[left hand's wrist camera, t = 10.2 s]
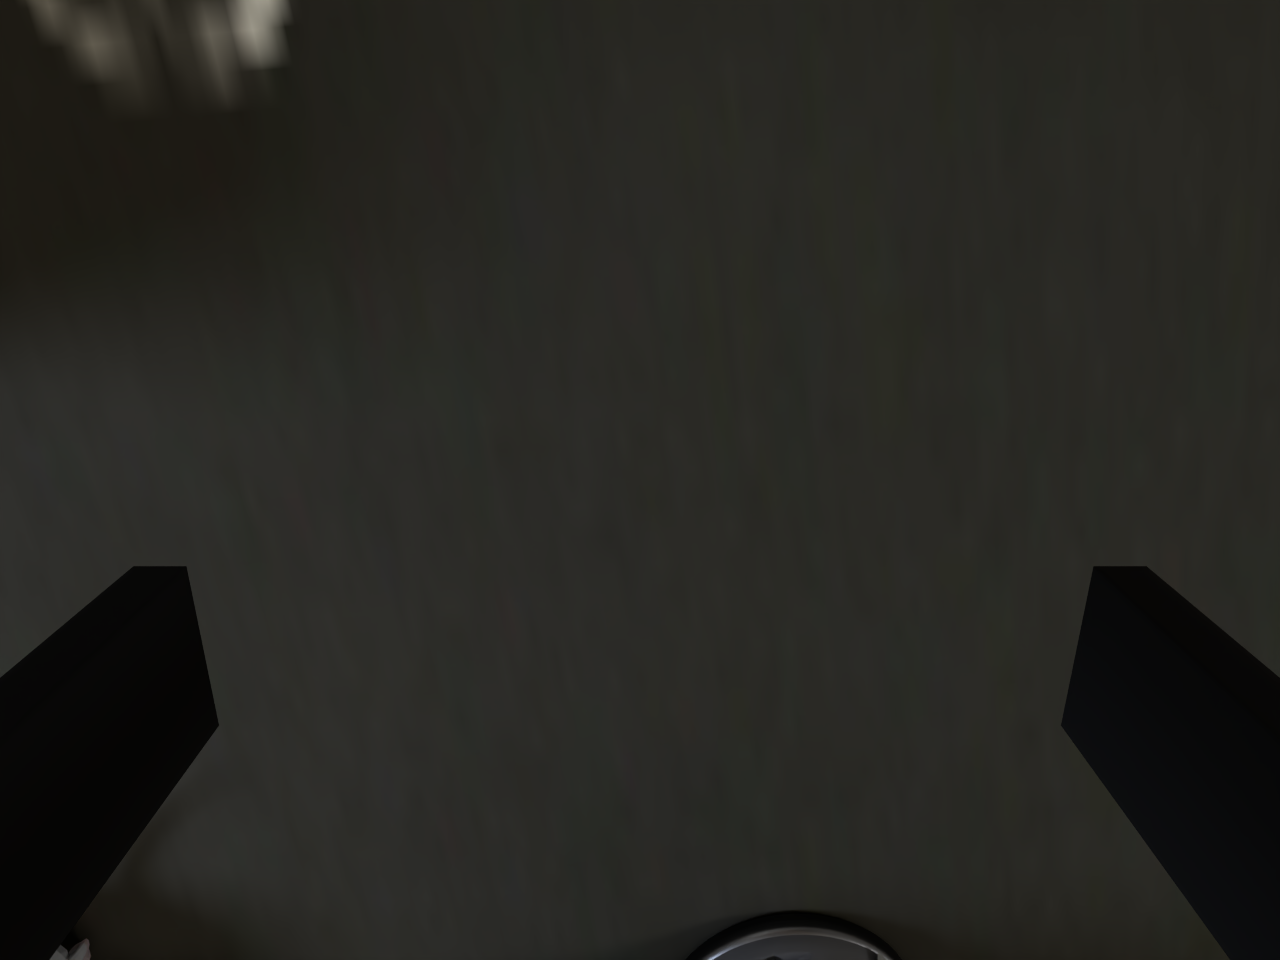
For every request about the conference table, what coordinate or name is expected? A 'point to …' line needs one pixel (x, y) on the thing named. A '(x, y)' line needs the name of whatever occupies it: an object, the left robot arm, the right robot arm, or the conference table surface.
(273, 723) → the conference table surface
